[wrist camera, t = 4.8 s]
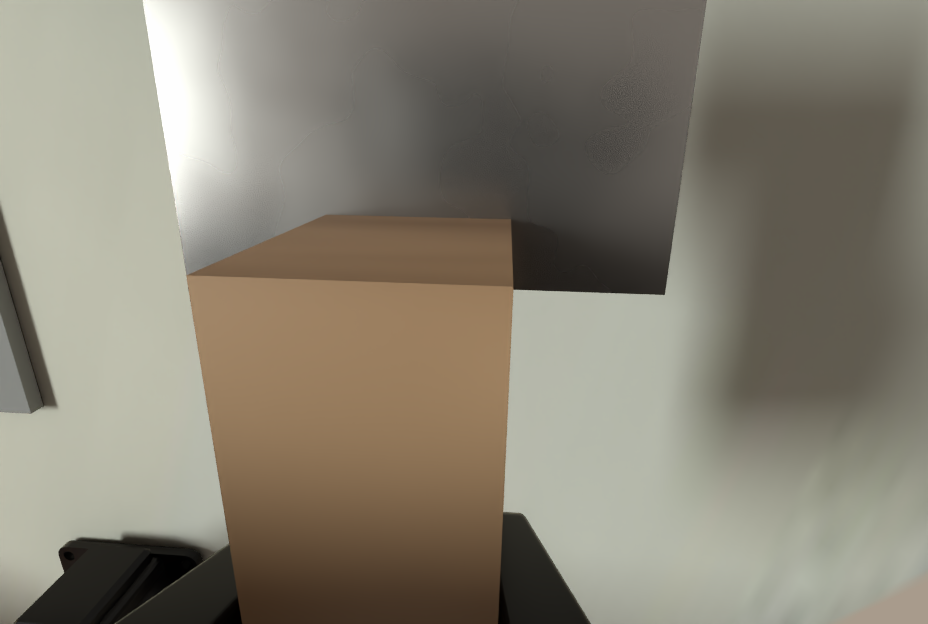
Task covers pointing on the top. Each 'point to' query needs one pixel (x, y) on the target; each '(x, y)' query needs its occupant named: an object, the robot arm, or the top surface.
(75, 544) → the robot arm
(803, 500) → the top surface
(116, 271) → the top surface
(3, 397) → the mat
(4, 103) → the top surface
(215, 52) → the turner
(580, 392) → the top surface
